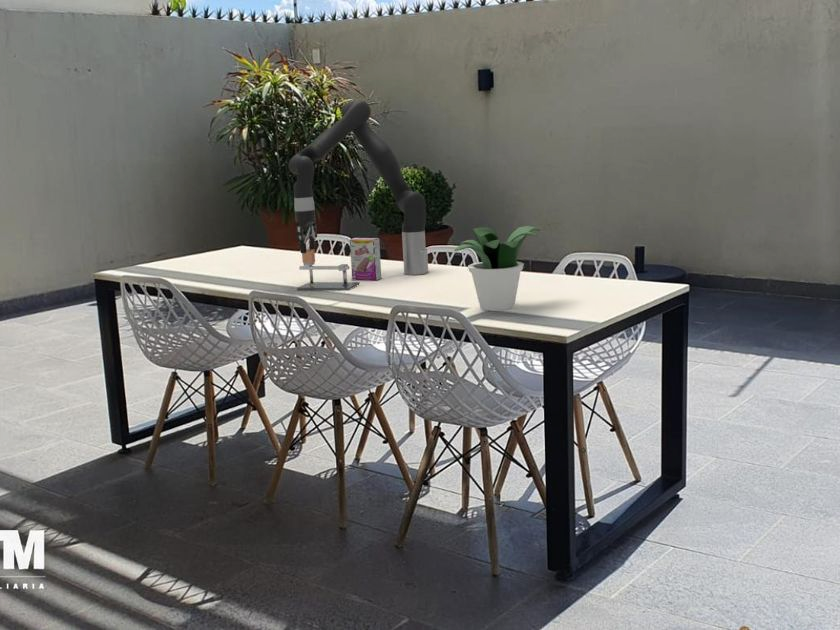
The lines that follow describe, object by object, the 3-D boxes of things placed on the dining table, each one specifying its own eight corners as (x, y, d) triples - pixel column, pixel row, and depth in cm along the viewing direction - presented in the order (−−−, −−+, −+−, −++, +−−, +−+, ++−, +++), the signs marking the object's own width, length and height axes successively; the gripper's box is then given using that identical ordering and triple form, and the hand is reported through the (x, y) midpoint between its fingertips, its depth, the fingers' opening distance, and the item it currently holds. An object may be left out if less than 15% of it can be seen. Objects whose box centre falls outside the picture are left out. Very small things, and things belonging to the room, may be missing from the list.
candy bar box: (351, 280, 392) (348, 239, 388) (357, 278, 396) (354, 237, 393) (376, 280, 387) (373, 239, 384) (382, 278, 391) (379, 237, 388)
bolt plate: (359, 284, 380) (358, 261, 378) (348, 290, 369) (346, 266, 367) (309, 284, 386) (308, 262, 384) (297, 290, 375) (295, 267, 373)
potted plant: (573, 303, 322) (572, 226, 317) (491, 321, 303) (488, 239, 298) (510, 292, 348) (508, 220, 343) (431, 307, 328) (427, 231, 323)
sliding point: (317, 283, 379) (314, 248, 376) (313, 284, 376) (310, 250, 373) (307, 283, 380) (305, 248, 378) (303, 284, 377) (301, 250, 374)
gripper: (306, 211, 364) (309, 254, 368) (321, 206, 378) (324, 248, 381) (287, 211, 367) (291, 254, 370) (303, 207, 380) (306, 248, 383)
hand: (308, 251), depth 375 cm, fingers open, 8 cm apart
